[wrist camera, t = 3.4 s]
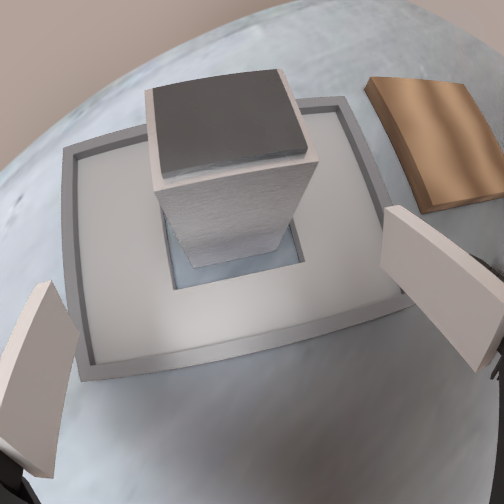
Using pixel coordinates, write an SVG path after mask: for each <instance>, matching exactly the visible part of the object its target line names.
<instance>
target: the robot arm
mask: <svg viewBox="0 0 504 504" xmlns="http://www.w3.org/2000/svg"><path fill="white" fill-rule="evenodd" d="M380 266H381V267H382V269H383V270H384V271H385V272H386V273H387V274H388V275H389V276H390V277H391V278H392V279H393V280H394V281H395V282H396V283H397V284H398V285H399V286H400V287H401V288H402V289H403V291H404V292H405V293H406V294H407V295H408V296H409V297H410V298H411V299H412V300H413V301H414V302H415V303H416V305H417V306H418V307H419V308H420V309H421V310H422V311H423V312H424V313H425V314H426V316H427V317H428V318H429V319H430V320H431V321H432V322H433V323H434V325H435V326H436V327H437V328H438V329H439V330H440V331H441V333H442V334H443V335H444V336H445V337H446V338H447V339H448V341H449V342H450V343H451V344H452V345H453V346H454V348H455V349H456V350H457V351H458V352H459V354H460V355H461V356H462V357H463V358H464V360H465V361H466V362H467V363H468V364H469V366H470V367H471V368H472V369H473V371H474V372H475V373H476V372H478V371H479V370H481V369H482V368H484V367H485V366H487V365H489V364H490V363H491V361H492V359H493V357H494V355H495V353H496V352H497V351H498V352H499V353H500V354H501V355H502V356H501V358H500V360H499V361H498V363H497V365H496V367H495V369H494V370H493V372H492V374H491V378H490V379H494V377H495V375H496V374H497V372H498V371H499V376H498V378H497V380H499V429H498V443H497V454H496V463H495V471H494V478H493V485H492V491H491V496H490V502H489V504H504V277H503V276H500V275H499V273H498V272H497V271H495V270H494V269H493V270H492V267H490V266H489V265H488V264H487V263H485V262H484V261H483V260H481V259H479V258H477V257H475V256H473V255H470V254H468V253H466V252H465V251H464V250H462V249H461V248H460V247H459V246H457V245H456V244H455V243H453V242H452V241H451V240H449V239H448V238H446V237H445V236H444V235H442V234H441V233H440V232H438V231H437V230H435V229H434V228H433V227H431V226H430V225H428V224H427V223H426V222H424V221H423V220H421V219H420V218H418V217H417V216H415V215H414V214H413V213H411V212H410V211H408V210H407V209H405V208H404V207H402V206H401V205H396V206H390V207H385V208H384V224H383V237H382V249H381V260H380ZM79 336H80V333H79V331H78V330H77V328H76V326H75V324H74V323H73V321H72V319H71V317H70V315H69V313H68V312H67V310H66V308H65V306H64V304H63V302H62V300H61V298H60V296H59V294H58V292H57V290H56V288H55V286H54V284H53V282H52V280H51V281H46V282H42V283H38V284H36V286H35V287H34V289H33V291H32V293H31V295H30V297H29V299H28V301H27V303H26V305H25V307H24V309H23V311H22V313H21V315H20V317H19V319H18V321H17V323H16V325H15V327H14V329H13V331H12V333H11V336H10V338H9V340H8V342H7V345H6V347H5V349H4V352H3V354H2V356H1V359H0V504H41V502H40V501H39V499H38V498H37V496H36V494H35V492H34V491H33V489H32V487H31V485H30V484H29V482H28V481H27V480H26V478H24V477H23V476H22V474H23V469H25V470H26V471H27V472H29V473H30V474H31V475H33V476H34V477H40V478H52V479H53V478H54V468H55V459H56V451H57V443H58V436H59V430H60V423H61V417H62V412H63V406H64V401H65V396H66V391H67V386H68V381H69V377H70V372H71V368H72V363H73V359H74V355H75V351H76V347H77V343H78V339H79Z"/></svg>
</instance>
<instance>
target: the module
mask: <svg viewBox="0 0 504 504" xmlns="http://www.w3.org/2000/svg"><path fill="white" fill-rule="evenodd" d="M145 106H146V120H147V133H148V144H149V154H150V164H151V173H152V182H153V191H154V193H155V195H156V197H157V199H158V201H159V203H160V205H161V207H162V209H163V211H164V213H165V215H166V217H167V219H168V221H169V223H170V225H171V227H172V229H173V231H174V233H175V234H176V236H177V238H178V240H179V242H180V244H181V246H182V248H183V250H184V251H185V253H186V255H187V257H188V259H189V261H190V263H191V264H192V266H193V268H194V269H195V268H199V267H204V266H209V265H213V264H218V263H223V262H227V261H232V260H237V259H241V258H246V257H251V256H255V255H260V254H265V253H269V252H274V251H276V250H277V248H278V246H279V244H280V242H281V240H282V238H283V236H284V234H285V231H286V229H287V227H288V225H289V223H290V221H291V219H292V217H293V215H294V213H295V211H296V209H297V207H298V205H299V203H300V201H301V199H302V197H303V195H304V192H305V190H306V188H307V186H308V184H309V182H310V180H311V178H312V176H313V174H314V172H315V170H316V167H317V165H318V163H319V159H318V156H317V153H316V150H315V148H314V145H313V143H312V140H311V137H310V135H309V132H308V130H307V127H306V125H305V122H304V120H303V117H302V115H301V112H300V110H299V107H298V105H297V103H296V100H295V98H294V95H293V93H292V91H291V88H290V86H289V84H288V82H287V79H286V77H285V75H284V72H283V70H282V69H273V70H262V71H252V72H244V73H236V74H228V75H221V76H214V77H208V78H202V79H196V80H191V81H186V82H180V83H175V84H171V85H166V86H161V87H157V88H153V89H149V90H145Z"/></svg>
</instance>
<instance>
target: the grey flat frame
mask: <svg viewBox="0 0 504 504" xmlns="http://www.w3.org/2000/svg"><path fill="white" fill-rule="evenodd" d="M295 100H296V103H297V105H298V107H299V110H300V112H301V115H302V117H303V120H304V122H305V125H306V127H307V130H308V132H309V135H310V137H311V140H312V143H313V145H314V148H315V150H316V153H317V156H318V159H319V163H318V165H317V167H316V170H315V172H314V174H313V176H312V178H311V180H310V182H309V184H308V186H307V188H306V190H305V192H304V195H303V197H302V199H301V201H300V203H299V205H298V207H297V209H296V211H295V213H294V215H293V217H292V219H291V221H290V223H289V225H290V228H291V232H292V235H293V239H294V243H295V246H296V250H297V254H298V257H299V261H300V263H297V264H293V265H288V266H284V267H279V268H275V269H270V270H266V271H261V272H257V273H252V274H248V275H243V276H239V277H234V278H229V279H225V280H220V281H215V282H211V283H206V284H201V285H197V286H192V287H187V288H182V289H178V290H176V285H175V279H174V274H173V268H172V263H171V257H170V251H169V245H168V239H167V233H166V226H165V220H164V213H163V209H162V207H161V205H160V203H159V201H158V199H157V197H156V195H155V193H154V191H153V182H152V173H151V164H150V154H149V144H148V133H147V124H143V125H139V126H135V127H131V128H127V129H124V130H120V131H116V132H113V133H109V134H106V135H102V136H99V137H96V138H92V139H89V140H86V141H83V142H80V143H77V144H74V145H71V146H68V147H65V148H63V162H62V185H61V228H62V252H63V267H64V279H65V289H66V298H67V307H68V313H69V315H70V317H71V319H72V321H73V323H74V324H75V326H76V328H77V330H78V331H79V333H80V336H79V339H78V343H77V347H76V351H75V357H76V362H77V367H78V372H79V376H80V381H81V382H86V381H95V380H103V379H111V378H119V377H126V376H134V375H140V374H147V373H153V372H159V371H165V370H171V369H177V368H183V367H188V366H193V365H199V364H204V363H209V362H214V361H218V360H223V359H228V358H232V357H237V356H242V355H246V354H250V353H255V352H259V351H263V350H267V349H271V348H275V347H279V346H283V345H287V344H291V343H295V342H298V341H302V340H306V339H309V338H313V337H317V336H320V335H324V334H327V333H331V332H334V331H337V330H341V329H344V328H347V327H351V326H354V325H357V324H360V323H363V322H367V321H370V320H373V319H376V318H379V317H382V316H385V315H388V314H391V313H394V312H397V311H399V310H402V309H405V308H408V307H411V306H413V305H416V303H415V302H414V301H413V300H412V299H411V298H410V297H409V296H408V295H407V294H406V293H405V292H404V291H403V289H402V288H401V287H400V286H399V285H398V284H397V283H396V282H395V281H394V280H393V279H392V278H391V277H390V276H389V275H388V274H387V273H386V272H385V271H384V270H383V269H382V267H381V266H380V260H381V249H382V237H383V224H384V208H385V207H390V206H393V205H392V203H391V200H390V197H389V195H388V192H387V190H386V187H385V184H384V182H383V179H382V177H381V174H380V172H379V170H378V167H377V165H376V162H375V160H374V158H373V155H372V153H371V151H370V148H369V146H368V144H367V142H366V139H365V137H364V135H363V133H362V131H361V129H360V126H359V124H358V122H357V120H356V118H355V116H354V114H353V112H352V110H351V108H350V106H349V104H348V102H347V100H346V98H345V96H335V97H317V98H303V99H295Z"/></svg>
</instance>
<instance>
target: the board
mask: <svg viewBox="0 0 504 504" xmlns="http://www.w3.org/2000/svg"><path fill="white" fill-rule="evenodd" d="M364 90H365V92H366V94H367V95H368V97H369V99H370V101H371V103H372V105H373V107H374V108H375V110H376V112H377V114H378V116H379V118H380V120H381V122H382V124H383V126H384V128H385V130H386V132H387V134H388V136H389V138H390V141H391V143H392V145H393V147H394V149H395V151H396V154H397V156H398V158H399V160H400V162H401V165H402V167H403V169H404V172H405V174H406V176H407V179H408V181H409V184H410V186H411V189H412V191H413V194H414V196H415V199H416V201H417V204H418V207H419V209H420V212H421V214H425V213H429V212H434V211H439V210H444V209H449V208H453V207H458V206H463V205H468V204H473V203H477V202H482V201H487V200H492V199H497V198H501V197H504V154H503V152H502V150H501V148H500V146H499V144H498V142H497V140H496V138H495V137H494V135H493V133H492V131H491V129H490V127H489V125H488V124H487V122H486V120H485V118H484V117H483V115H482V113H481V111H480V110H479V108H478V106H477V105H476V103H475V101H474V100H473V98H472V97H471V95H470V93H469V92H468V90H467V89H466V87H465V86H464V84H458V83H450V82H442V81H432V80H422V79H409V78H392V77H370V79H369V81H368V83H367V85H366V87H365V89H364Z"/></svg>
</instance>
